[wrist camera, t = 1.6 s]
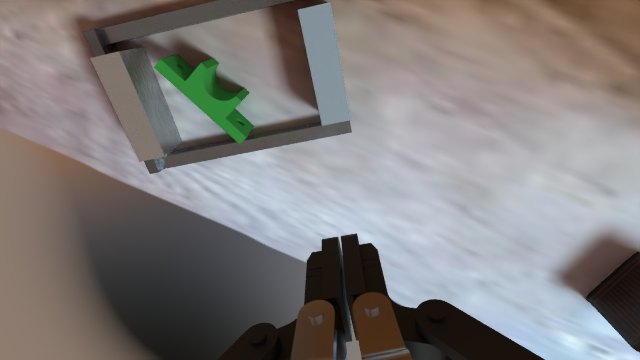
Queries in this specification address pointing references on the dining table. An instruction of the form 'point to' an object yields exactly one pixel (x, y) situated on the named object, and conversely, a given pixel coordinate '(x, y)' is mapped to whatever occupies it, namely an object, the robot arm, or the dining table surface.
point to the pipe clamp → (207, 93)
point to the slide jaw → (324, 63)
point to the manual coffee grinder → (621, 300)
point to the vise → (148, 100)
